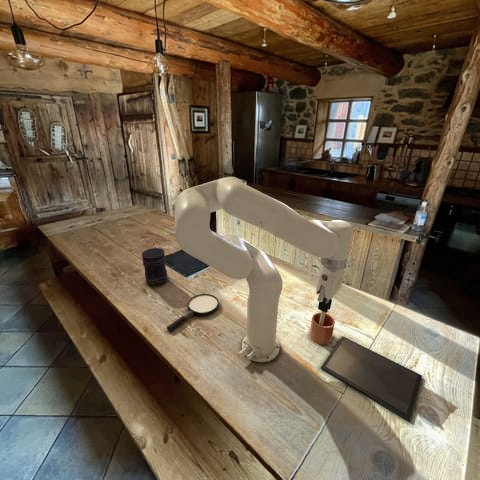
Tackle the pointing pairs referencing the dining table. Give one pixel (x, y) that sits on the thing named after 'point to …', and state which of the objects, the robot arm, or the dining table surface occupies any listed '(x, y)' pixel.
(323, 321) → the stylus
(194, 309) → the magnifying glass
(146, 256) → the storage jar
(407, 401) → the tablet
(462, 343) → the dining table surface
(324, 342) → the pen pot
